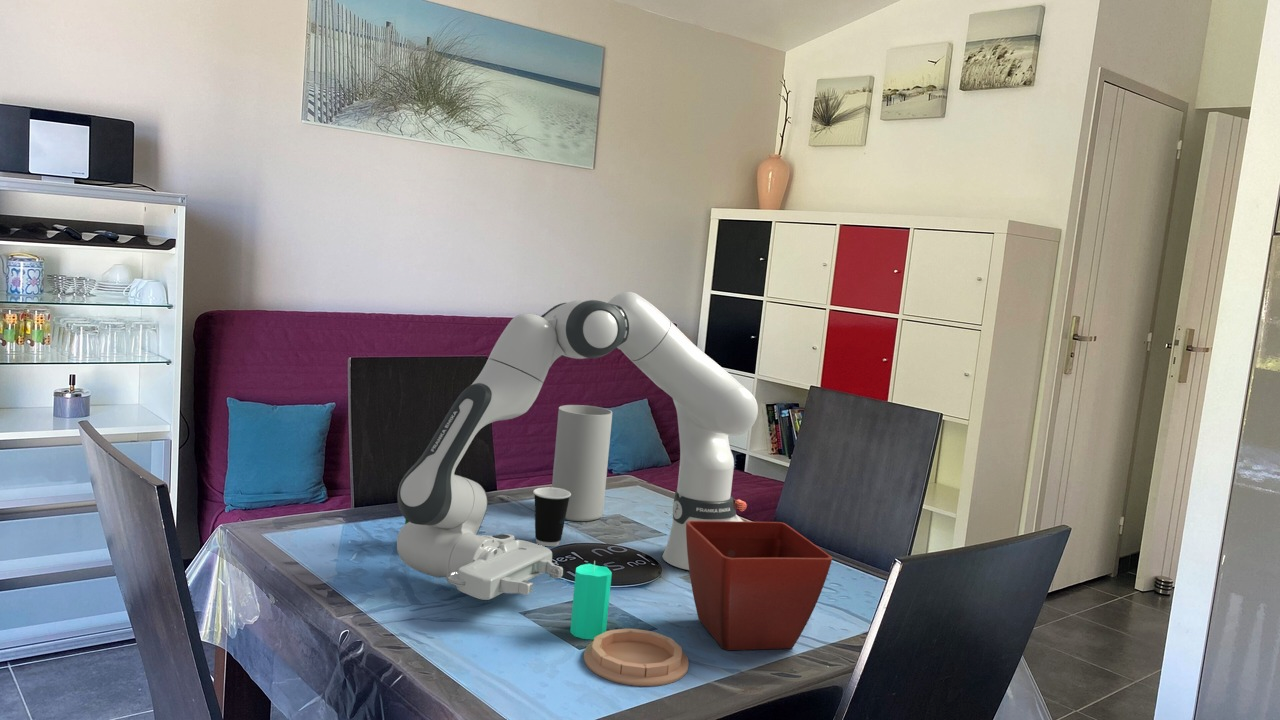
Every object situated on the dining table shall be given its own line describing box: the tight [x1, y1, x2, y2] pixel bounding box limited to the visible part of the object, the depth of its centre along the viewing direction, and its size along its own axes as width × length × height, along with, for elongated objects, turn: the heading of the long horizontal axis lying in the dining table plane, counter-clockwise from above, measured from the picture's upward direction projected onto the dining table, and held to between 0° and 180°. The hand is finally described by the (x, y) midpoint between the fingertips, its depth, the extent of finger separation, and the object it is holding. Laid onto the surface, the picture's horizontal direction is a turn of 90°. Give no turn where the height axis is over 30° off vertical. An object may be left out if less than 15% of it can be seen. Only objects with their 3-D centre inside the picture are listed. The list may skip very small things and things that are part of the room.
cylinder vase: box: [551, 404, 613, 522], centre depth 215 cm, size 12×12×25 cm
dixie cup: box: [532, 486, 571, 547], centre depth 193 cm, size 8×8×11 cm
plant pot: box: [686, 521, 833, 651], centre depth 154 cm, size 19×19×17 cm
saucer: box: [583, 628, 689, 687], centre depth 141 cm, size 16×16×2 cm
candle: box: [569, 560, 613, 641], centre depth 149 cm, size 6×6×12 cm
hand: (546, 581), depth 153 cm, fingers open, 8 cm apart
